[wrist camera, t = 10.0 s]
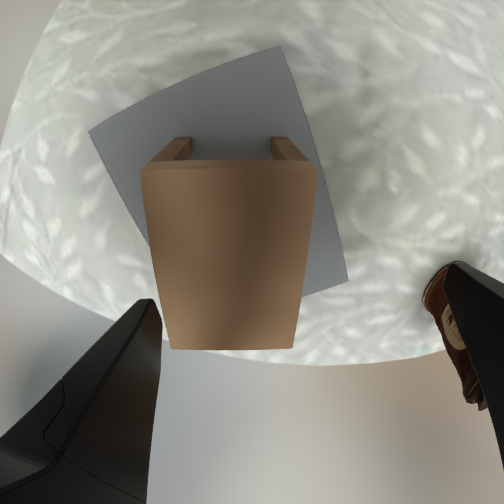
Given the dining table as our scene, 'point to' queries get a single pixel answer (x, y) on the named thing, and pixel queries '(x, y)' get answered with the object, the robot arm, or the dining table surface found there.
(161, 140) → the mat
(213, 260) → the wooden seat
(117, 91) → the dining table surface
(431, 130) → the dining table surface
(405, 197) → the dining table surface
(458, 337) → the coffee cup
